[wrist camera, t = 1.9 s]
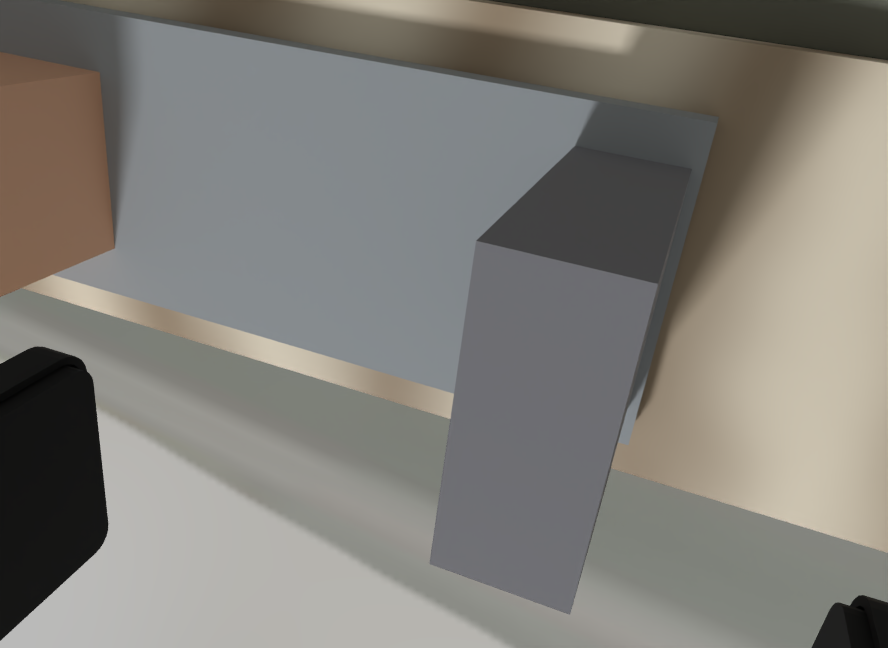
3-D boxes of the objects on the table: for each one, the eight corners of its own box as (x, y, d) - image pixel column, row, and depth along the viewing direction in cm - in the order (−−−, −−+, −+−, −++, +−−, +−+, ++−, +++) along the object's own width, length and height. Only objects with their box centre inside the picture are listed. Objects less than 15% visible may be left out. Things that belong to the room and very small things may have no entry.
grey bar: (718, 117, 16) (698, 214, 9) (632, 428, 20) (573, 661, 13) (-70, -23, 22) (-434, -25, 15) (-24, 238, 25) (-301, 331, 19)
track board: (1344, 127, 14) (1383, 138, 13) (1051, 578, 18) (1066, 607, 18) (-54, -81, 22) (-87, -84, 21) (1, 265, 27) (-23, 274, 26)
